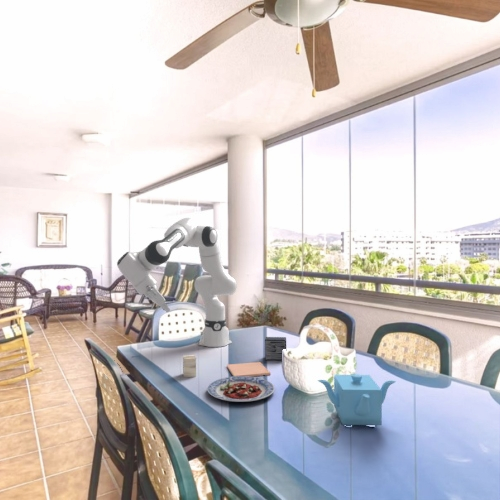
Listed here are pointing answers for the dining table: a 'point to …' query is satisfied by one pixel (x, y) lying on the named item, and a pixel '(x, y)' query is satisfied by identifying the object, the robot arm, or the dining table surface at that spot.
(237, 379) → the ceramic plate
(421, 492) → the dining table surface
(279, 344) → the small box
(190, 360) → the ash block
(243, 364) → the terracotta tile
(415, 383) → the dining table surface
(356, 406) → the teakettle
